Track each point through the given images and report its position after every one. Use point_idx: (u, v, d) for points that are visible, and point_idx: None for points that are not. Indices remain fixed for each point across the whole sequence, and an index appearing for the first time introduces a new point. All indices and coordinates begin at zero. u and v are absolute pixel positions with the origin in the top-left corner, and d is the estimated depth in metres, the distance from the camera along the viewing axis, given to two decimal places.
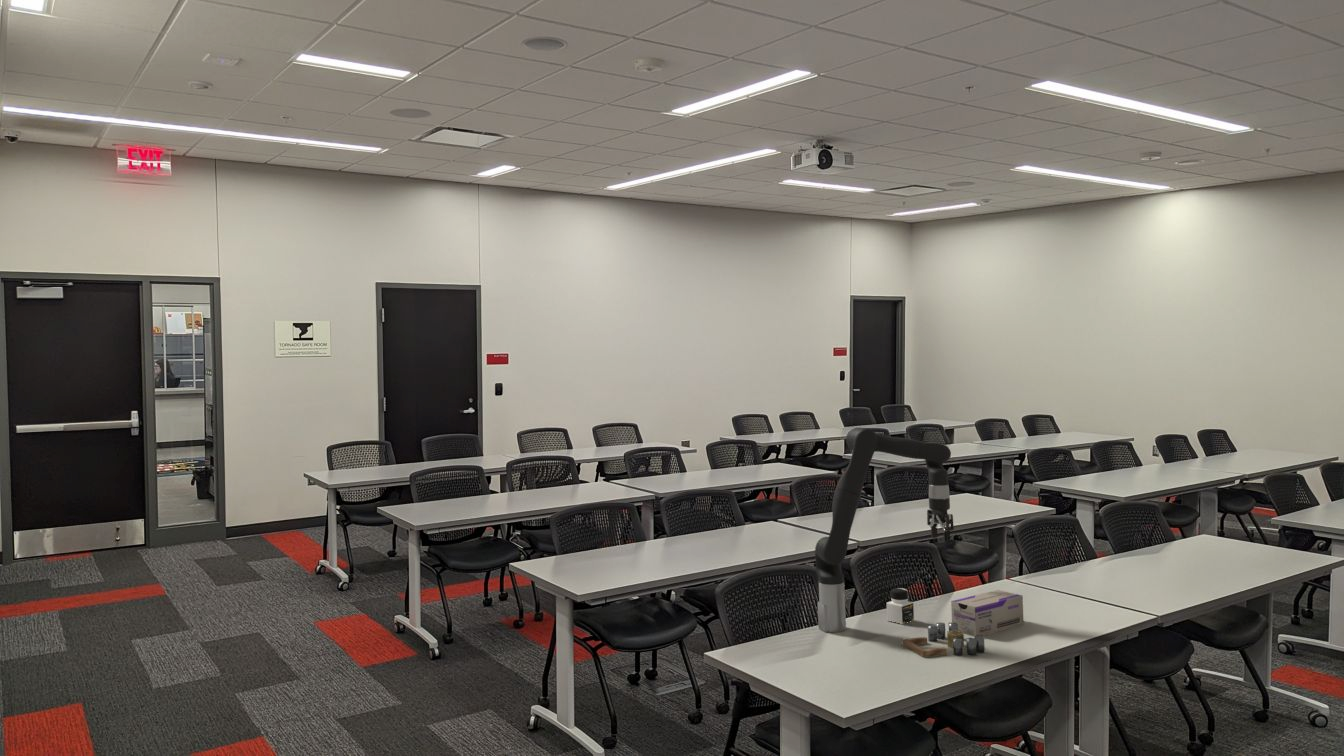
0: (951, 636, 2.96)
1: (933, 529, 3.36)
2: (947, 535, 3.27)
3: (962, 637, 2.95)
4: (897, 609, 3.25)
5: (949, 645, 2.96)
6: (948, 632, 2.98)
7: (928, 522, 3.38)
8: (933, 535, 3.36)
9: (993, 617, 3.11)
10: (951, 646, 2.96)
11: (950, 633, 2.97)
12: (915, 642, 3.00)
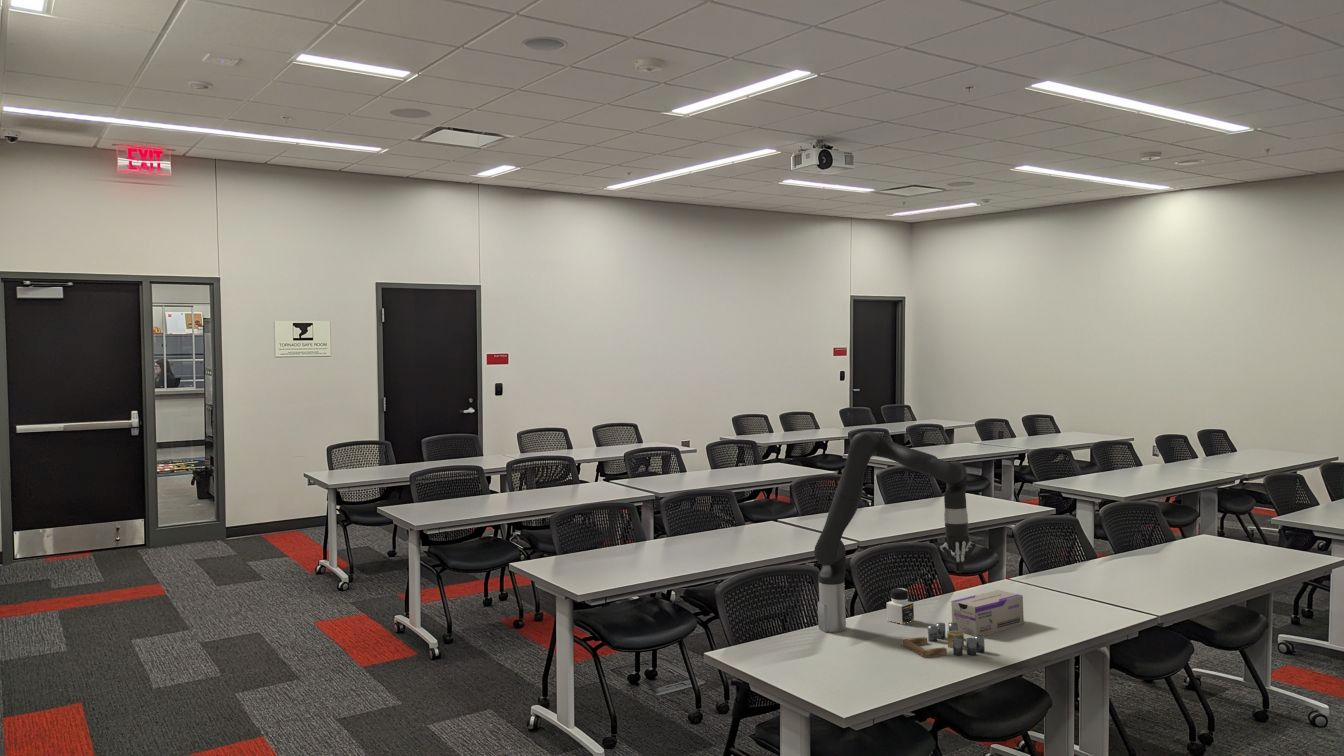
0: (951, 636, 2.96)
1: None
2: None
3: (962, 637, 2.95)
4: (897, 609, 3.25)
5: (949, 645, 2.96)
6: (948, 632, 2.98)
7: (953, 557, 2.96)
8: None
9: (994, 617, 3.11)
10: (951, 646, 2.96)
11: (950, 633, 2.97)
12: (915, 642, 3.00)
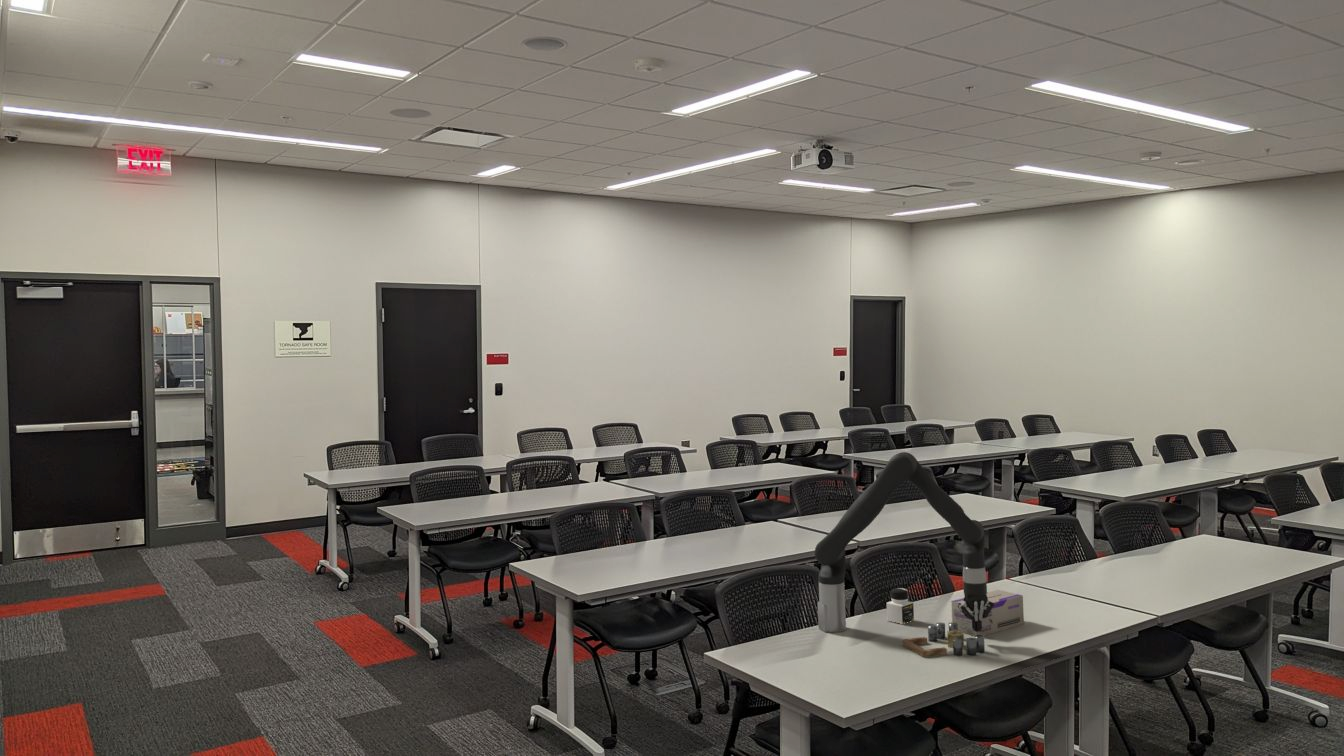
0: (951, 636, 2.96)
1: None
2: None
3: (962, 637, 2.95)
4: (897, 609, 3.25)
5: (949, 645, 2.96)
6: (948, 632, 2.98)
7: (972, 616, 2.97)
8: None
9: (994, 617, 3.11)
10: (951, 646, 2.96)
11: (950, 633, 2.97)
12: (915, 642, 3.00)
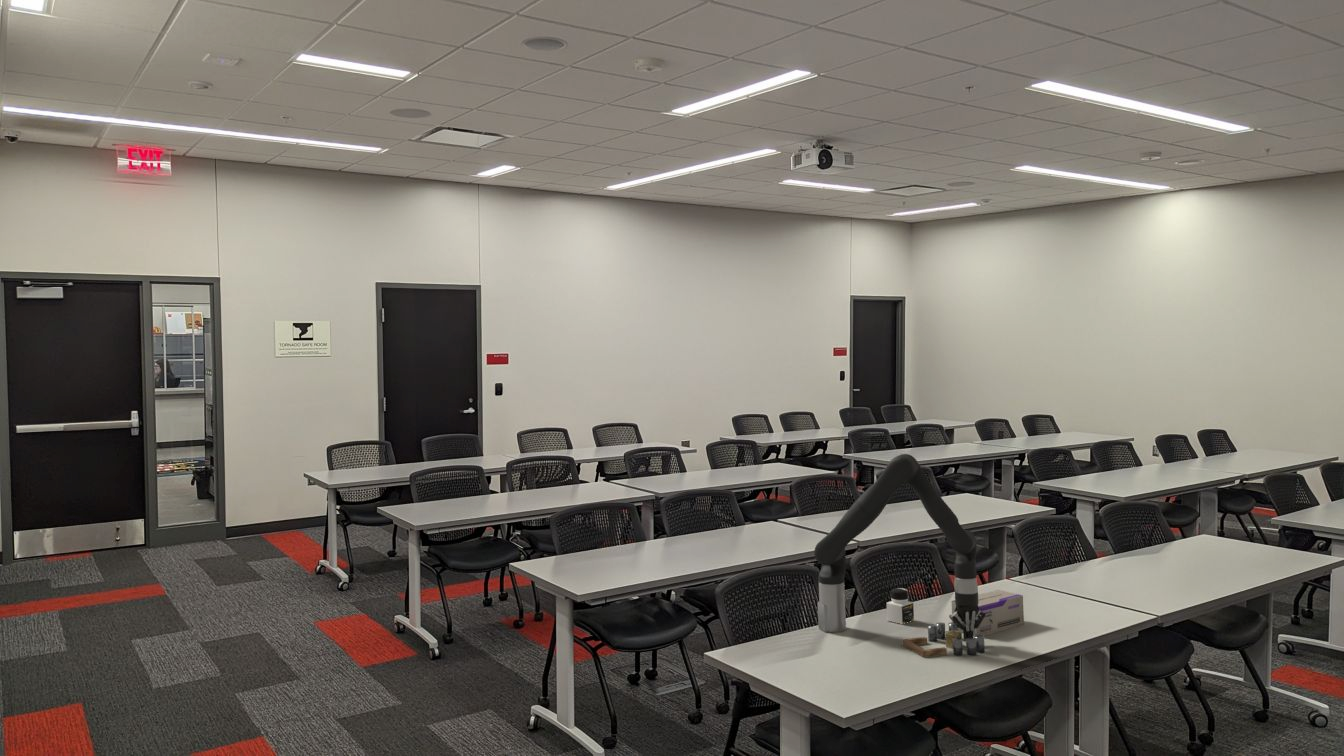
0: (949, 636, 2.96)
1: None
2: None
3: (960, 637, 2.95)
4: (897, 609, 3.25)
5: (947, 645, 2.96)
6: (946, 632, 2.98)
7: (963, 626, 2.97)
8: None
9: (994, 617, 3.11)
10: (949, 646, 2.96)
11: (948, 633, 2.97)
12: (915, 642, 3.00)
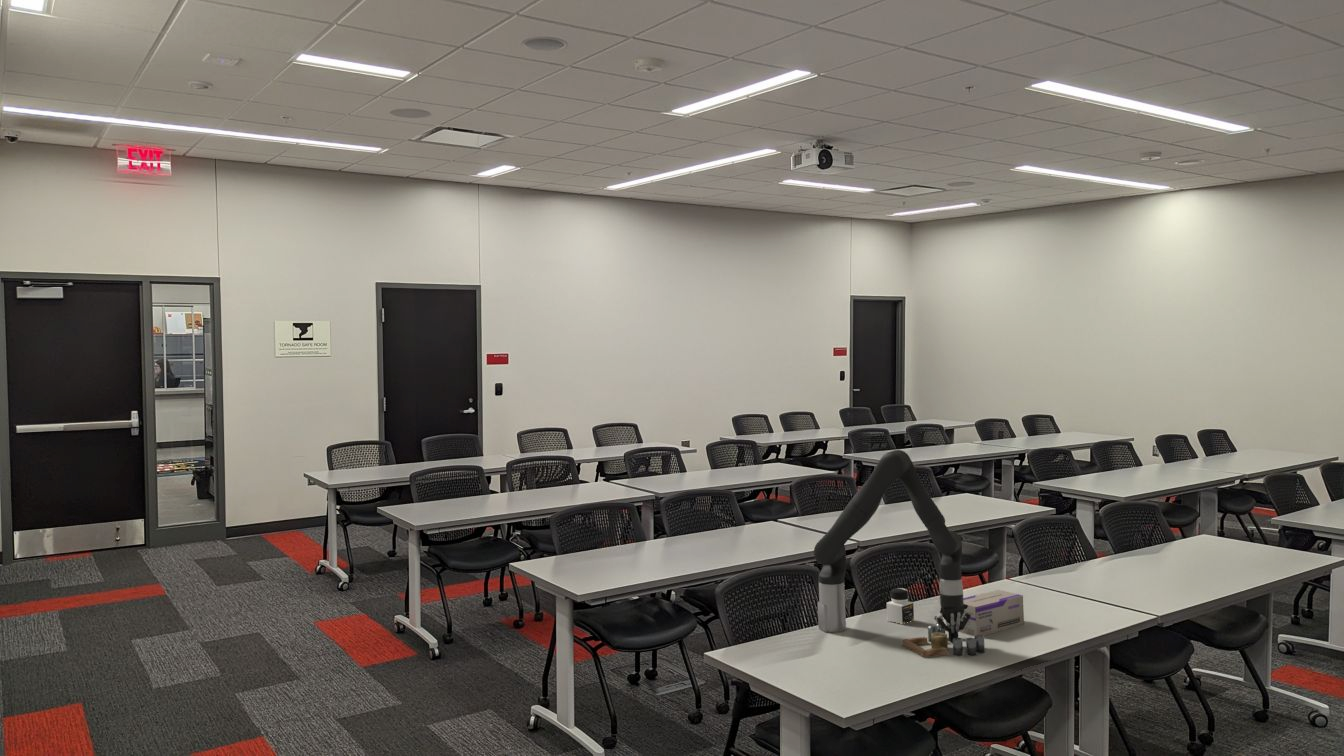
0: (935, 638, 2.94)
1: None
2: None
3: (946, 639, 2.94)
4: (897, 609, 3.25)
5: (933, 647, 2.95)
6: (932, 634, 2.97)
7: (948, 628, 2.96)
8: None
9: (994, 617, 3.11)
10: None
11: (934, 635, 2.95)
12: (915, 642, 3.00)
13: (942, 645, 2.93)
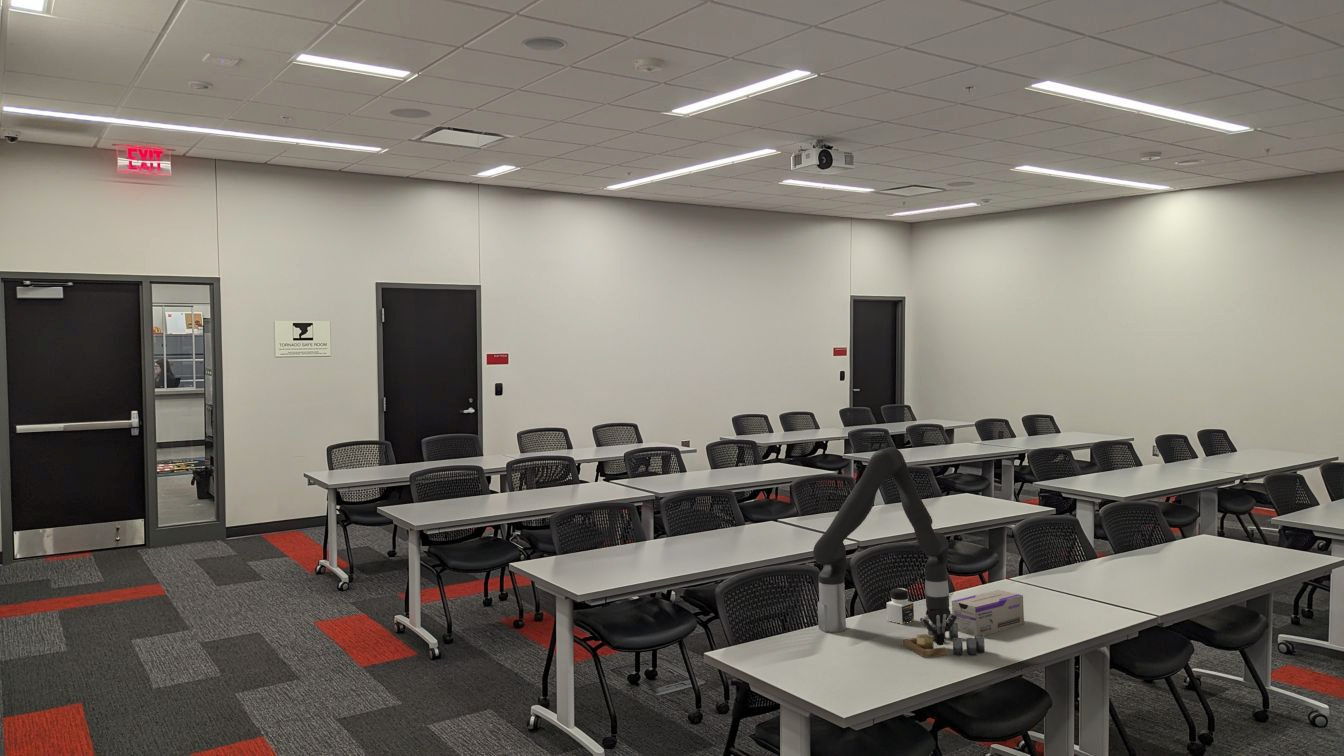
0: (920, 640, 2.93)
1: None
2: None
3: (931, 641, 2.92)
4: (897, 609, 3.25)
5: None
6: (918, 636, 2.95)
7: (934, 630, 2.94)
8: None
9: (994, 617, 3.11)
10: None
11: (919, 637, 2.94)
12: (915, 642, 3.00)
13: (927, 647, 2.92)
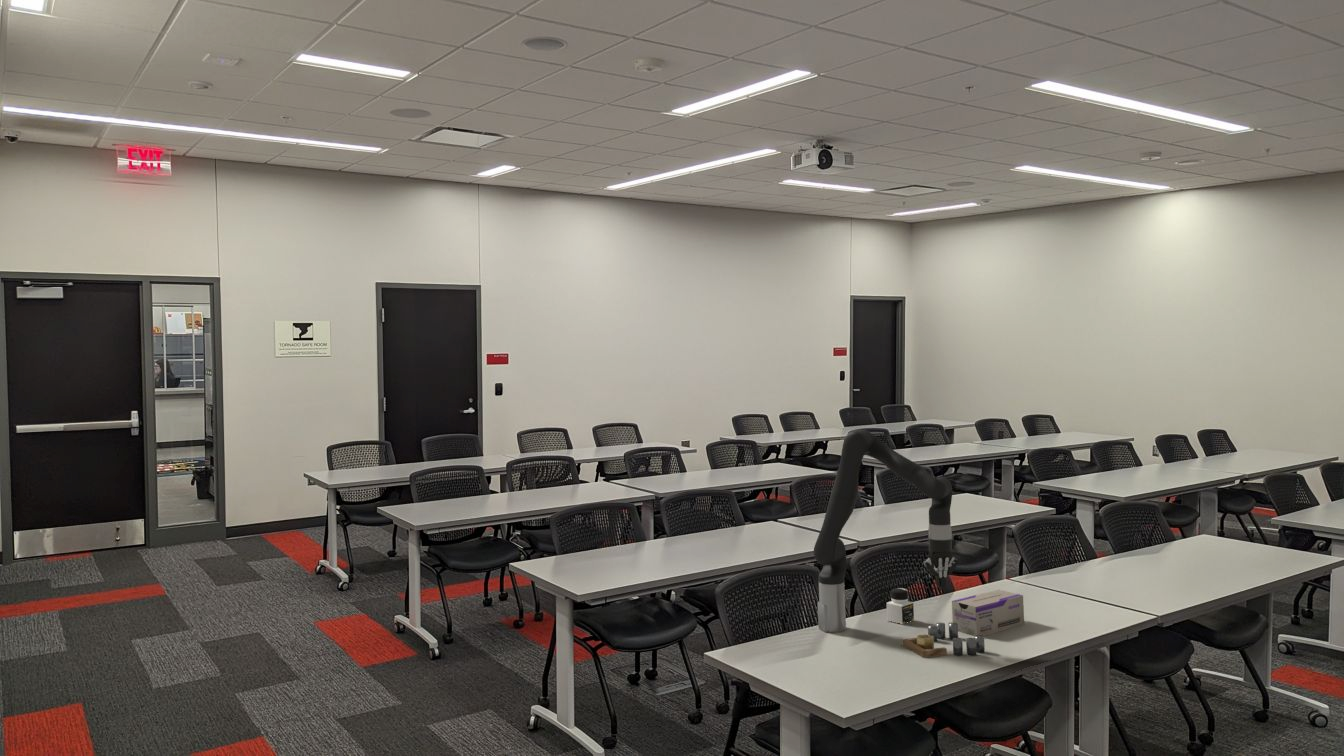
0: (920, 640, 2.93)
1: None
2: None
3: (931, 641, 2.92)
4: (897, 609, 3.25)
5: None
6: (918, 636, 2.95)
7: (936, 573, 2.96)
8: None
9: (994, 617, 3.11)
10: None
11: (920, 637, 2.94)
12: (915, 642, 3.00)
13: (927, 647, 2.92)
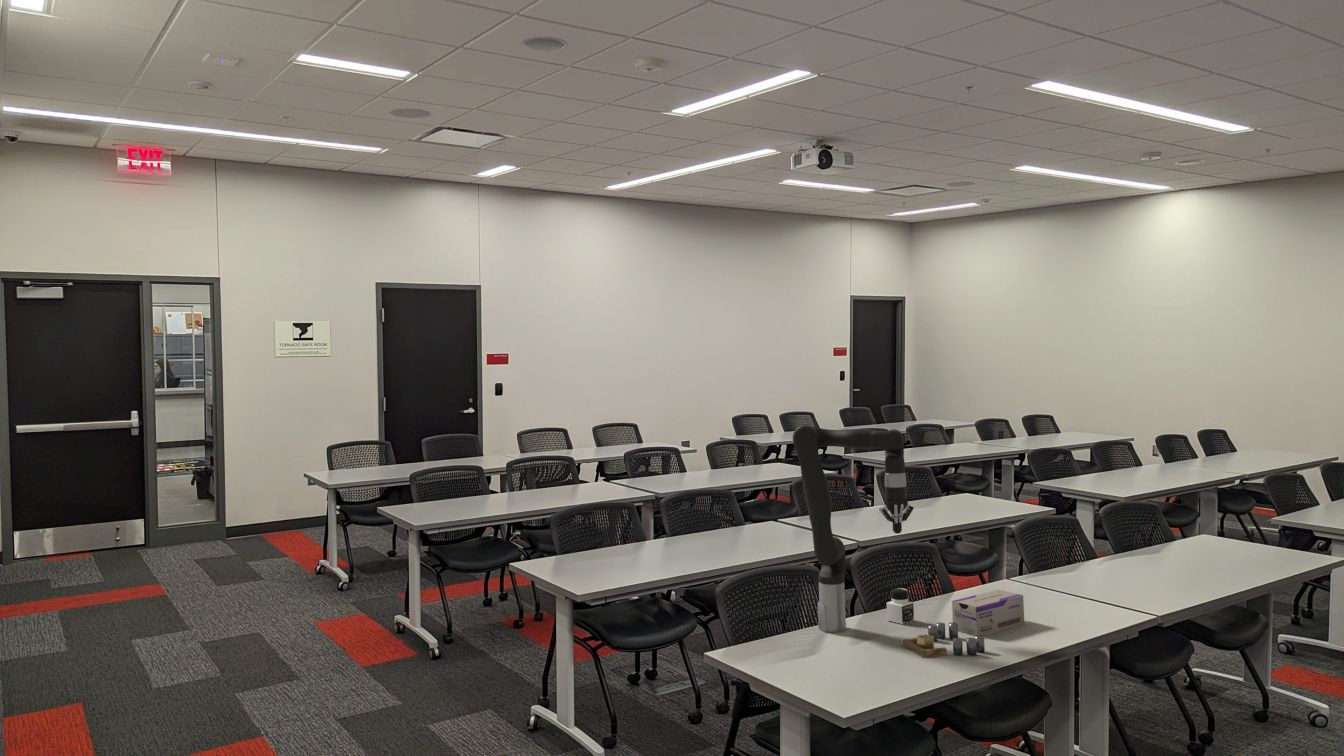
0: (920, 640, 2.93)
1: None
2: None
3: (931, 641, 2.92)
4: (897, 609, 3.25)
5: None
6: (918, 636, 2.95)
7: (892, 518, 3.16)
8: None
9: (994, 617, 3.11)
10: None
11: (920, 637, 2.94)
12: (915, 642, 3.00)
13: (928, 647, 2.92)
